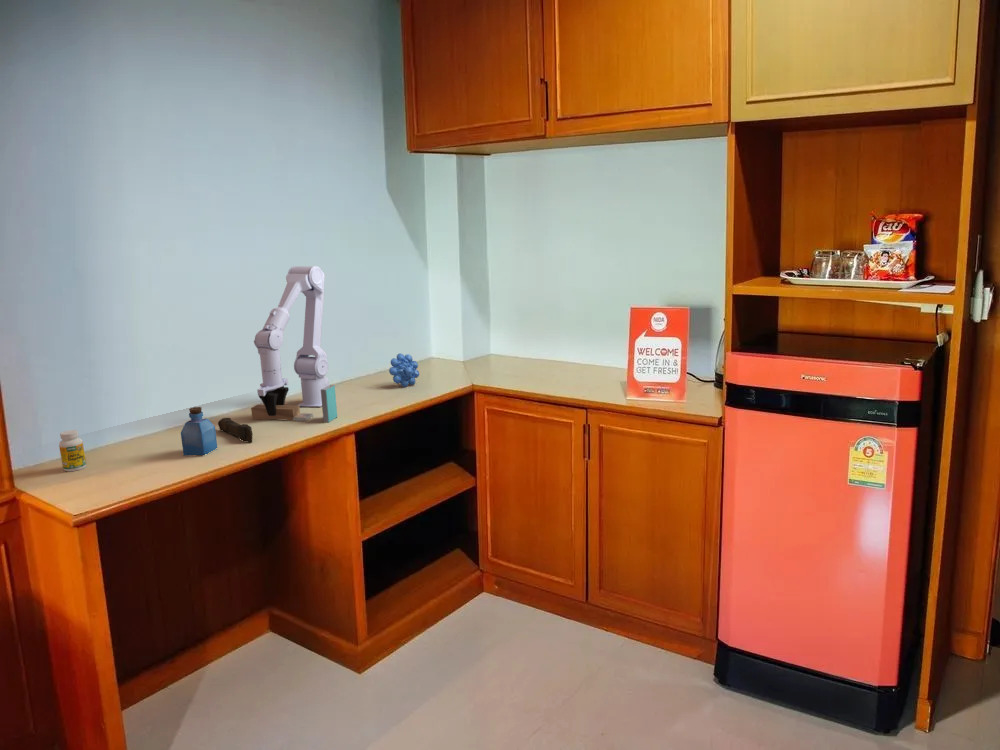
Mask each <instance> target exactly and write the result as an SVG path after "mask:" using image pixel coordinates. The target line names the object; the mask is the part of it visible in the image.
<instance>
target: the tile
mask: <svg viewBox="0 0 1000 750" xmlns="http://www.w3.org/2000/svg"><path fill="white" fill-rule="evenodd" d="M321 399H322V406H321V409H322V419H323V423H324V422H325V423H326V424H327V423H328V422H329V423H330V422H332V421H333V419H334V420H335V419H337V418H338V409H337V408H338V407H337V398H336V386H335V384H329V386H327V387H325V388H323V389H321ZM336 417H337V418H336ZM329 423H328V424H329Z"/></svg>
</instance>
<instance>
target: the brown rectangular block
mask: <svg viewBox="0 0 1000 750" xmlns="http://www.w3.org/2000/svg"><path fill="white" fill-rule="evenodd" d="M250 410H251V419H252V420H265V419H287V420H286V421H293V420H296V421H295V422H306V420H307V421H308V420H310V419H312V418H313V417H314V414H313V413H306V412H305V413H302V412H301V411H300V410H301V409H300V406H298V405H290V404H289V405H285V404H284V405H276V415H275V416H269V415H268V413H267V410H266V408H265V405H264V404H256V405H254V406H252V407H250ZM311 417H312V418H311Z"/></svg>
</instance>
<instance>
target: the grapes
mask: <svg viewBox="0 0 1000 750" xmlns="http://www.w3.org/2000/svg"><path fill="white" fill-rule="evenodd" d="M390 365H391V367H389V369H388V370H389V374H390V375H391V376H393V377H392V380H393V382H394V383H395V384H400V386H401V387H403V388H406V387H408V386H409V385H411V386H413V385H415V384H416V382H417V381H416V379H417V378H419V376H420V371H419V370H418V368H419V364H418V362H417V360H413V356H412V355H411V354H409V353H407V354H405V355H404V354H403V353H398V354H396V358H394V357H393V358H391V359H390Z"/></svg>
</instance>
